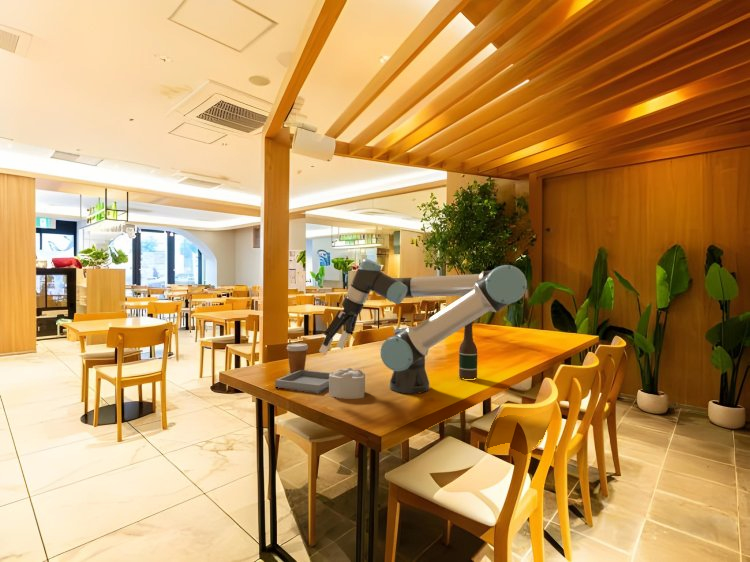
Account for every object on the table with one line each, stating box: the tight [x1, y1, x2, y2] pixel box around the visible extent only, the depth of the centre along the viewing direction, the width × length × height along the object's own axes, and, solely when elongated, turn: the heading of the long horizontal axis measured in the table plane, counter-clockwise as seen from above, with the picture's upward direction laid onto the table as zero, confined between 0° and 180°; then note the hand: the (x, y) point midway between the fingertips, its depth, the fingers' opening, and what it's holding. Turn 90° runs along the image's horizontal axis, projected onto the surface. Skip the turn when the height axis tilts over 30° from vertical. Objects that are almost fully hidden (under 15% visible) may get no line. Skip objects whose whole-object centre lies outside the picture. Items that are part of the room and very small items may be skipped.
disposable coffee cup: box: [286, 342, 309, 373], centre depth 172 cm, size 10×10×12 cm
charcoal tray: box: [274, 369, 332, 394], centre depth 151 cm, size 19×18×3 cm
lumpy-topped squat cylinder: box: [328, 367, 366, 400], centre depth 139 cm, size 10×13×9 cm
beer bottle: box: [458, 321, 478, 379], centre depth 161 cm, size 8×8×24 cm
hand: (331, 350), depth 143 cm, fingers open, 13 cm apart
